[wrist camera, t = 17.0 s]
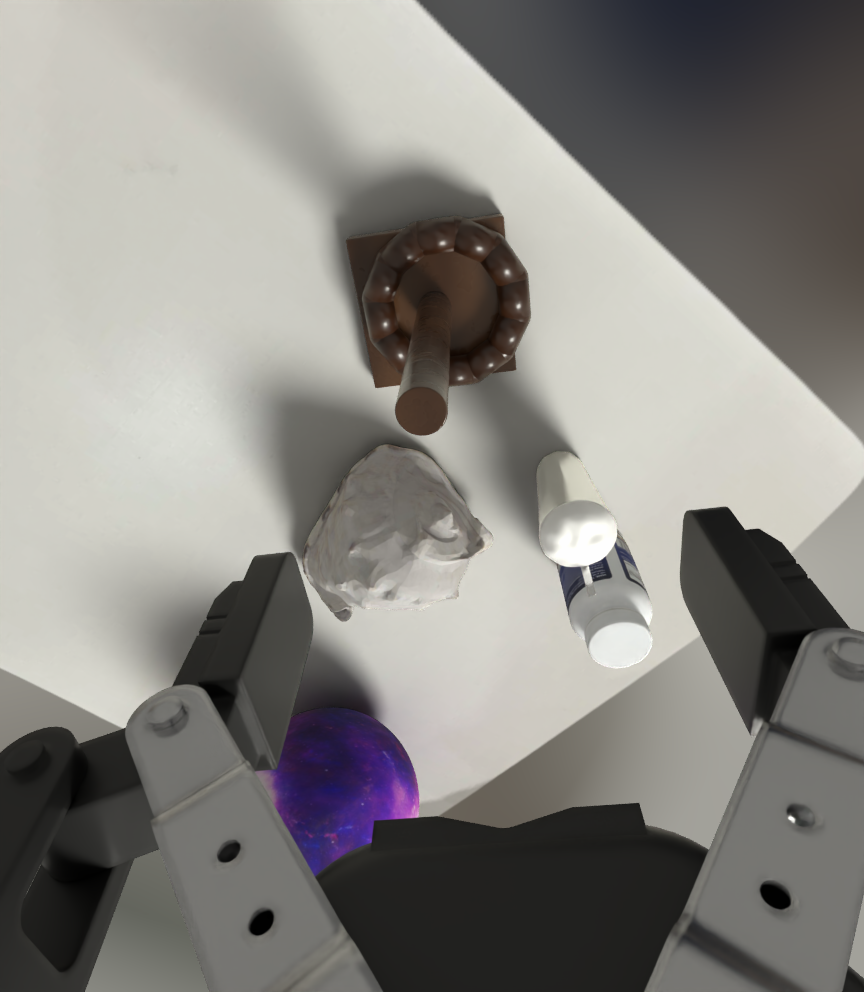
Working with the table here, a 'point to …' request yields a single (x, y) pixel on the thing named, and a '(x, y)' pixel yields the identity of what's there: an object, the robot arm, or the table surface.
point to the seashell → (392, 536)
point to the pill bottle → (610, 608)
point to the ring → (472, 244)
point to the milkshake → (572, 515)
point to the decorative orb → (339, 782)
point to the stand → (430, 323)
